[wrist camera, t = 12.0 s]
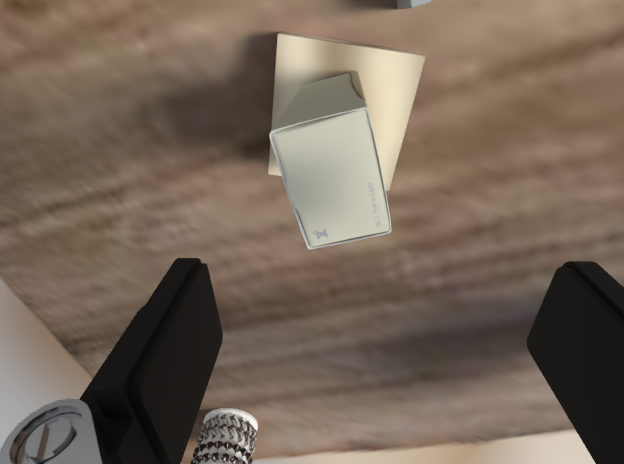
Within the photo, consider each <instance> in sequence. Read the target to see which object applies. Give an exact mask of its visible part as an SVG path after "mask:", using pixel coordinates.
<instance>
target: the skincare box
mask: <svg viewBox="0 0 624 464" xmlns="http://www.w3.org/2000/svg"><path fill="white" fill-rule="evenodd" d="M269 138H270V141H271V144H272V148H273V151H274V154H275V157H276V160H277V163H278V166H279V169H280V173H281V176H282V179H283V182H284V185H285V188H286V191H287V194H288V197H289V199H290V202H291V205H292V207H293V210H294V213H295V216H296V218H297V221H298V224H299V227H300V229H301V232H302V235H303V237H304V240H305V243H306V246H307V248H308V249H309V250H310V249H314V248H320V247H325V246H330V245H336V244H341V243H346V242H351V241H356V240H362V239H366V238H371V237H375V236H380V235H384V234H388V233H390V232H391V222H390V214H389V208H388V202H387V196H386V190H385V185H384V180H383V174H382V169H381V164H380V159H379V154H378V150H377V145H376V141H375V136H374V131H373V127H372V123H371V118H370V114H369V110H368V106H367V103H366V99H365V95H364V91H363V88H362V84H361V80H360V77H359V74H358V72H357V71H354V72H351V73H347V74H343V75H339V76H335V77H332V78H328V79H325V80H321V81H318V82H314V83H311V84H308V85H305V86H302V87H301V88H300V90H299V91H298V92H297V94H296V95H295V97H294V98H293V100H292V101H291V103H290V104H289V106H288V107H287V109H286V110H285V111H284V113H283V114H282V116H281V117H280V119H279V120H278V122H277V123H276V125H275V126H274V128H273V129H272V130H271V132H270V134H269Z"/></svg>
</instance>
